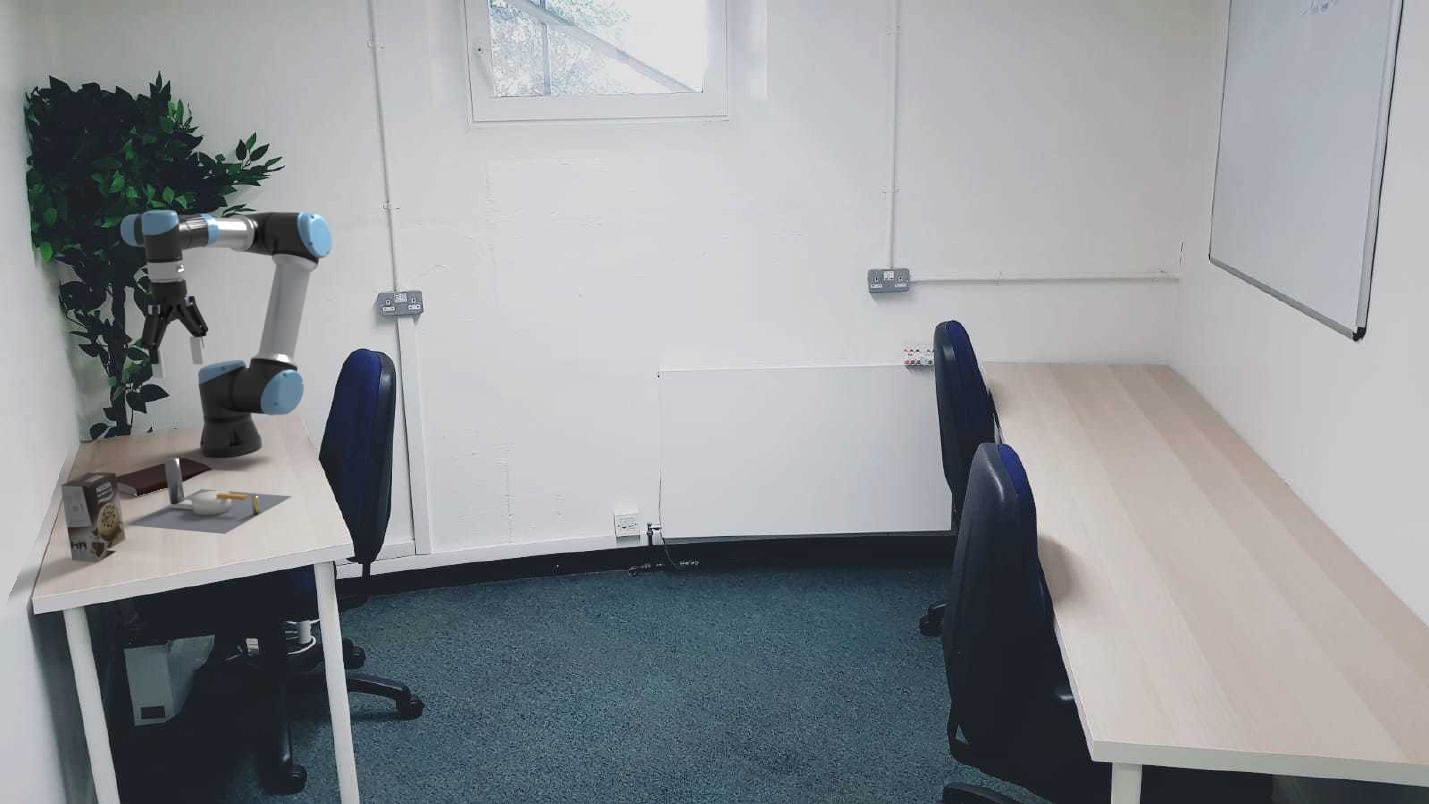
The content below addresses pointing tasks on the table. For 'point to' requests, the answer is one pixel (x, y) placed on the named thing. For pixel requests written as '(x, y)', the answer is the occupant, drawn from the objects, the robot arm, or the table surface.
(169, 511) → the dial base plate
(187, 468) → the book
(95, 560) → the cookie box
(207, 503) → the white grey handled piece
